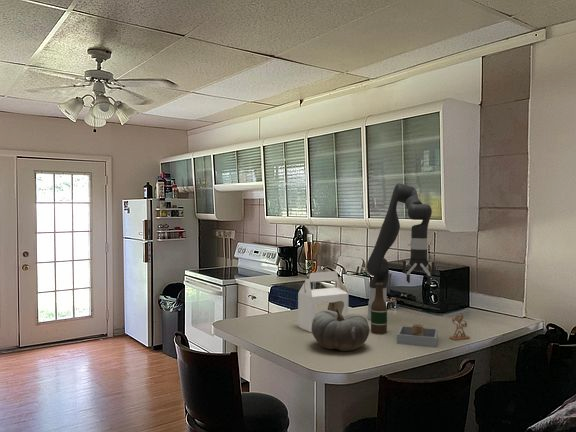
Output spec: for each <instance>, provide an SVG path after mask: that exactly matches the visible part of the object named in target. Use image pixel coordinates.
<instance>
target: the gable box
mask: <svg viewBox="0 0 576 432" xmlns="http://www.w3.org/2000/svg"><path fill="white" fill-rule="evenodd" d="M307 277H308V278H306V279H304V283H303V284H302V286H301V288H300V289H299V291H298V295H297V327H298V328H300V329H302V330H304V331H307V332H309V333H311V334H313V333H312V322H313V319H314V317H315V316H316V315H317V314H318V311H317V305H319V304H321V303H328V306H327V310H331V311H334V312H336V311H335V309H336V308H337V309H338V311H339V312H340V313H341V314H342V315H343V316H346V315H348V314H349V292H348V290H347V288H346V287H345V285H344V282H343V281H342V277H341V276H338V271H336V270H332V271H317V272H310V273H309V274H307ZM327 281H334V287H328V288H327V287H325V288H315V289H313V288H312V283H314V282H316V283H317V282H327Z"/></svg>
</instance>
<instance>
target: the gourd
mask: <svg viewBox="0 0 576 432" xmlns="http://www.w3.org/2000/svg"><path fill="white" fill-rule="evenodd" d="M335 311H336V312H334V311H331V310H328V309H322V310H320V311H319V312H317V315H316V316H315V317H314V319H313V322H312V333H311V334H312V336H313V337H314V339H315V340H316V342H317V343H318V344H319V345H320V346H321V347H322V348H325V349H328V350H335V349H336V350H339V351H341V352H349V351H350V352H351V351H355V350H357V349H358V348H360V347H362V346H363V345H364V344H365V342H366V341H367V339H369V334H370V331H371V328H370V325H369V323H368V319H367V318H366V317H365V316H364V315H362V314H360V313H355V312H354V313H348V315H346V316H343V315H342V314H341V313H340V312H339V311H338V309H337V308H336V309H335Z"/></svg>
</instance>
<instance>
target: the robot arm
mask: <svg viewBox="0 0 576 432" xmlns="http://www.w3.org/2000/svg"><path fill="white" fill-rule="evenodd" d="M398 202H399V203H403V204H405V208H406V209H407V217H408V218H409V220H414V221H415V220H416V221H417V220H418V221H419V220H420V221H421V220H422V221H421V223H418V224H414V225H412V226H411V228H410V229H411V237H410V238H411V239H410V255H409V256H410V260H407V259H404V260H403V261H402V262H403V263H402V274H404V275H406V282H407V284H410V283H411V273H412V271H424V273H426V275H427V277H426V278H427V280H426V281H427V282H426V283H427V285H430V284H431V281H432V276H434V275H435V274H436V263H435V261H433V260H432V261H429V260H428V251H429V250H428V248H429V243H428V228H429V224H430V220H431V217H432V212H433V209H432V207H431V206H430V205H429V204H425V203H424V204H423V203H422V201H421V200H420V199H419V196H418V192H417V190H416V188H415V187H413V186H411V185H407V184H403V183H396V185H395V186H394V188H393V191H392V194H391V198H390V202H389V205H388V209H387V211H386V214H385V217H384V219H383V221H382V224H381V228H380V230H379V233H378V236H377V239H376V242H375V244H374V248H373V250H372V252H371V254H370V256H369V259H368V261H367V263H366V270H367V273H368V274H369V275H370V276H373V277H372V279H371V280H370V281H369V283H368V284H369V286H368V288H369V290H368V292H369V293H368V294H369V296H368V302H367V304H368V307H367V311H368V313H367V320H371V305H372V302H373V301H374V300H375V293H376V283H383V299H384V301H385V303H386V304H387V285H388V282H389V275H390V274H389V271H390V267H389V266H390V265H389V261H388V260H387V259H386V258H385V255H386V253H387V252H388V251H389V249H390V248H391V247H392V245H394V243H395V241H396V240H397V238H398V236H399V233H400V229H401V224H400V221H399V216H398V210H397V205H398ZM409 264H410V268H409V269H408V271H407V266H408V265H409ZM428 265H429V266H430V267H431V272H430V271H429V268H428V267H427V266H428Z"/></svg>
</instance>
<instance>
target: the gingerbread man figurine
mask: <svg viewBox="0 0 576 432" xmlns="http://www.w3.org/2000/svg"><path fill="white" fill-rule="evenodd" d="M451 321H452V323H453V325H456V329H455V331H454V333H453V335H451V336H449V337H448V339H449V340H452V341H464V340H470V339H471V338H470V336H468V335H467V334H466V333H465V331H464V328H467V327H468V323H467V321H466V320H464V315H463V313H461V312H458V313H456V316H454V317H452V319H451ZM455 321H456V322H457V323H455ZM462 322H464V323H462ZM460 329H461V330H462V332H461V330H460ZM459 334H460V335H459Z"/></svg>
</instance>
